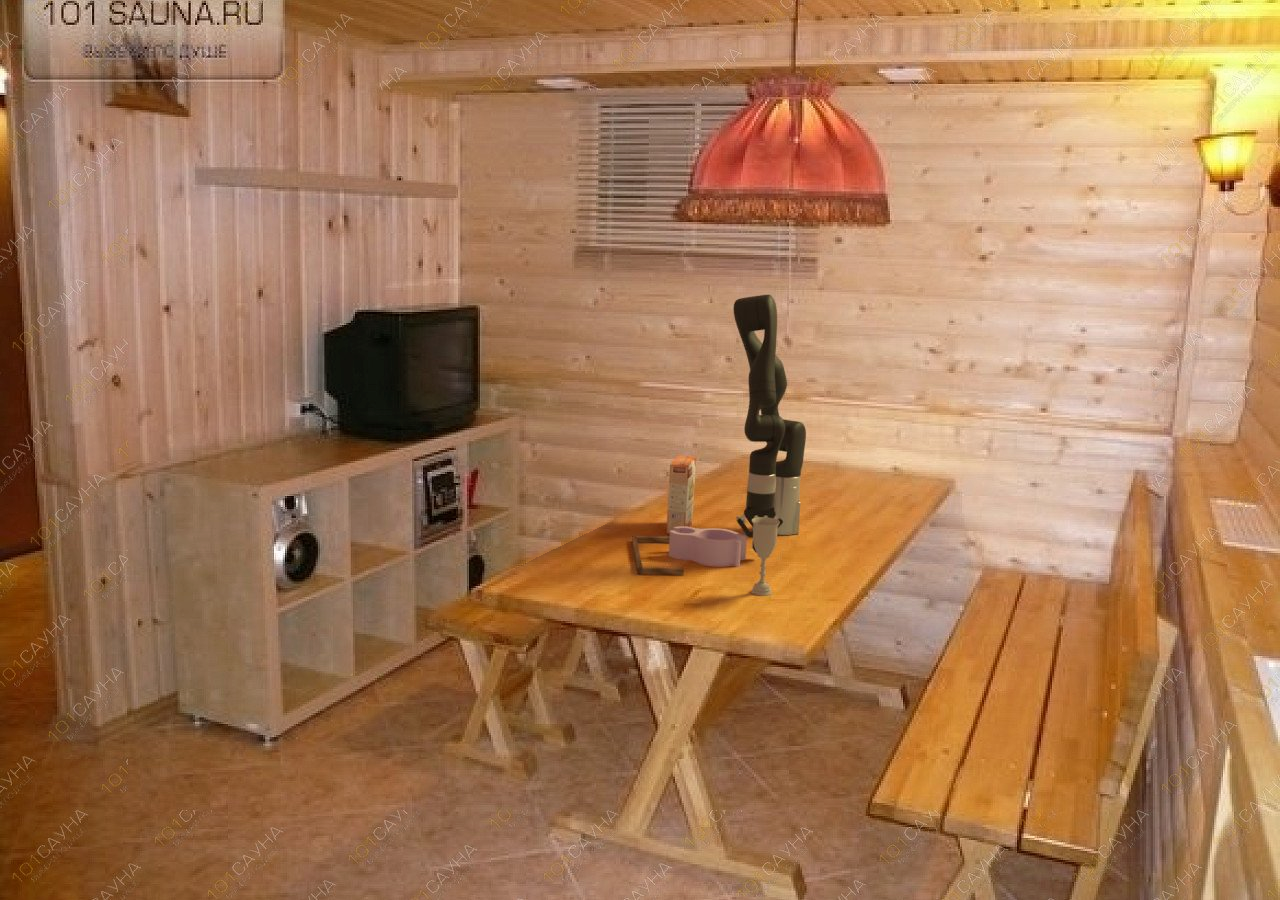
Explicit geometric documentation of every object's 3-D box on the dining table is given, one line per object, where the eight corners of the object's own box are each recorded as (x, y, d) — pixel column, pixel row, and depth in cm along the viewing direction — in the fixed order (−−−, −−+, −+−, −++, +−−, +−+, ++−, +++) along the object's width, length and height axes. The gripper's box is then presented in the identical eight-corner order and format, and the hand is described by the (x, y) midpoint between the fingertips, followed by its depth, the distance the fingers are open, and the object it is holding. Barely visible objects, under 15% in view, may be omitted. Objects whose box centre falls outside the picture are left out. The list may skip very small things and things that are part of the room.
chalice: (745, 587, 268) (749, 516, 264) (772, 587, 268) (776, 517, 265) (750, 597, 261) (754, 525, 257) (778, 597, 261) (782, 525, 258)
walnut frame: (673, 542, 304) (673, 536, 304) (683, 575, 275) (683, 569, 275) (632, 541, 304) (632, 536, 303) (637, 574, 275) (637, 568, 274)
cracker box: (686, 536, 310) (689, 465, 306) (665, 534, 311) (668, 463, 307) (693, 524, 324) (696, 455, 319) (673, 522, 325) (676, 454, 321)
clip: (663, 559, 288) (664, 534, 287) (677, 547, 300) (678, 523, 298) (736, 569, 282) (738, 544, 280) (748, 556, 293) (749, 532, 292)
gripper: (783, 486, 291) (779, 548, 295) (734, 485, 290) (731, 547, 294) (788, 493, 284) (784, 556, 287) (738, 492, 283) (735, 555, 286)
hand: (757, 551), depth 291 cm, fingers closed
